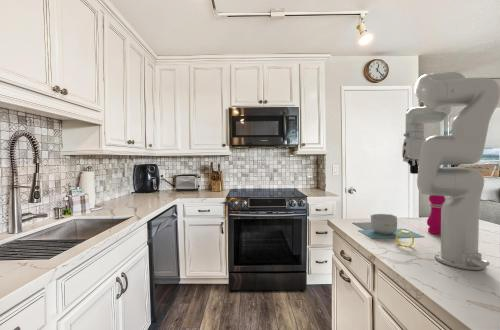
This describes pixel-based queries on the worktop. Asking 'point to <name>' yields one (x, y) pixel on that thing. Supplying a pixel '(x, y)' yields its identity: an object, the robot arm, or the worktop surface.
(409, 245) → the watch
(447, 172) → the robot arm
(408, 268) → the worktop surface
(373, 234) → the t mat
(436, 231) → the pepper mill
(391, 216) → the teacup
